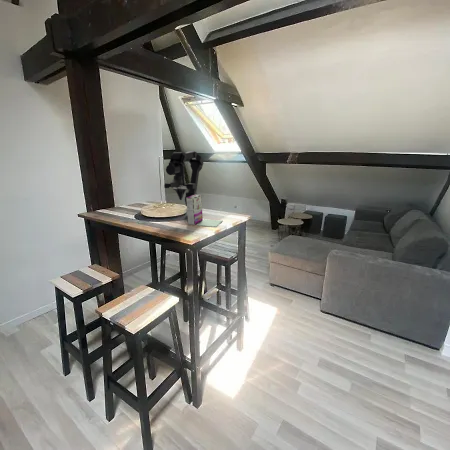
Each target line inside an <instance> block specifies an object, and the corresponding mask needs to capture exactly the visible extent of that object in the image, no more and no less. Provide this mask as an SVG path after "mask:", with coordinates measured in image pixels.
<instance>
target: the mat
mask: <svg viewBox="0 0 450 450" xmlns="http://www.w3.org/2000/svg"><path fill="white" fill-rule="evenodd" d="M221 223H223V220H222V219H218V220H217V219H209V218H205V219H204V218H203V220H202V221H201V222H199V223H197V224H196V226H197V227H209V228H210V227H211V228H212V227H213V228H217V227H219V225H221Z"/></svg>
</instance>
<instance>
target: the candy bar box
mask: <svg viewBox="0 0 450 450" xmlns="http://www.w3.org/2000/svg"><path fill="white" fill-rule="evenodd" d="M202 200H203V199H202V194H197V195H192V196H190V197H187V198H186V201H187V206H186V212H187V213H186V214H187V224H188V225H189V226H191V225H192V226H195V225H196V226H197V224H199V223H200V222H202V221H203V220H204V218H203V217H204V216H203V203H202V202H203V201H202Z"/></svg>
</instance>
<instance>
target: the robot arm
mask: <svg viewBox="0 0 450 450" xmlns="http://www.w3.org/2000/svg"><path fill="white" fill-rule="evenodd" d="M187 160H188V162H189V164H190V165H189V166H190V168H191V175H190V181H189V183H187V182H186V179H185V178H186V175H185V167H186V163H185V162H186V161H187ZM203 165H204V160H203V157H202V156H201V155H199V154H198V153H197V151H195V150H193V151H192V150H191V151H186V152H183V151H178V152H177V151H174V152H172V154H171V157H170V160H169V162H168V165H166V166H165V167H166V168H165V171H166V174H167V175H168V176H173V179H172V180H170V182H165V183H164V185H163V186H164V189H170V188H172V190H173V191H175V192H176V194H177V196H178V199H179V200H180V201H182V200H183V197H184V195H185V197H184V202H185V206H186V207H187V201H186V198H187V197H190V196H192V195H198V193H197V190H198V182H199V175H200V172H201V171H202V170H203ZM188 189H189V190H188ZM187 190H188V191H187Z"/></svg>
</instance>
